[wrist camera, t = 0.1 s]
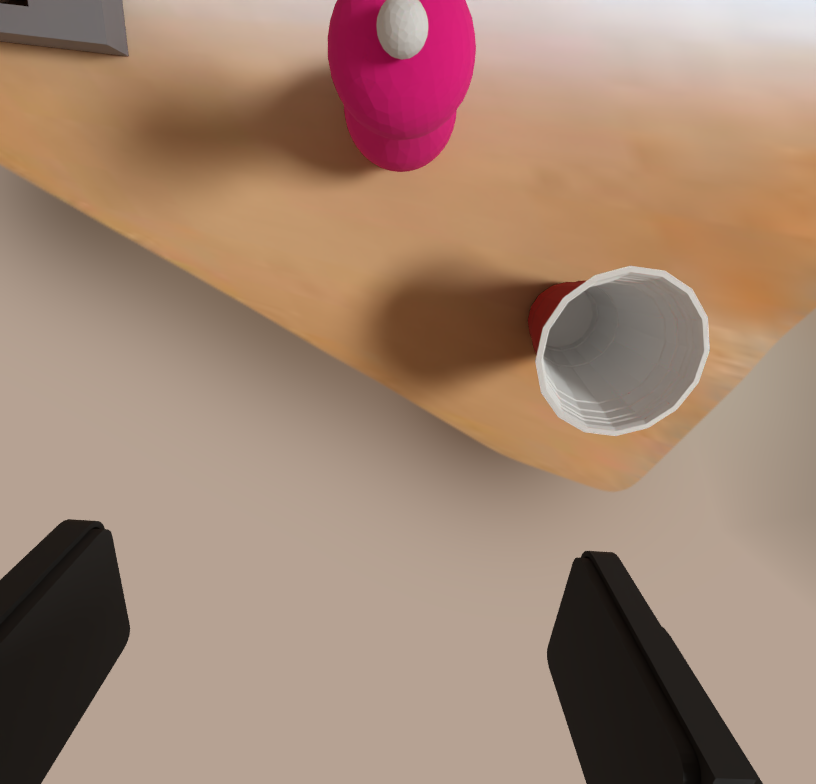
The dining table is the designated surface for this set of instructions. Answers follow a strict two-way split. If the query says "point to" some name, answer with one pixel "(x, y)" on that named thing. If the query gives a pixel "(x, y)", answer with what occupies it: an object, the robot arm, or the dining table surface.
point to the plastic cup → (618, 348)
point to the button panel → (66, 25)
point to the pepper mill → (401, 75)
